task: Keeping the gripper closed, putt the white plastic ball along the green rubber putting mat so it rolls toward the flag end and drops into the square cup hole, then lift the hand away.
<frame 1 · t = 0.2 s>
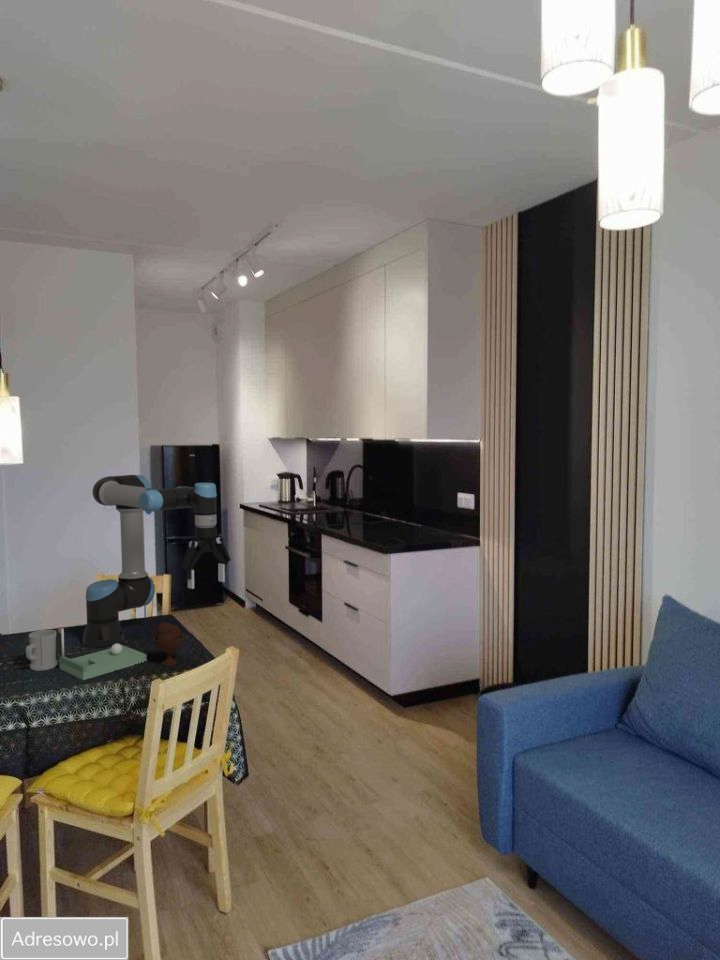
hand: (206, 584, 242), 28 cm above the table, fingers open, 13 cm apart
ball: (116, 649, 242), point 4 cm above the table, touching putting mat
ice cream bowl: (169, 663, 240), on the table
cup: (43, 668, 236), on the table
putting mat: (104, 665, 238), on the table
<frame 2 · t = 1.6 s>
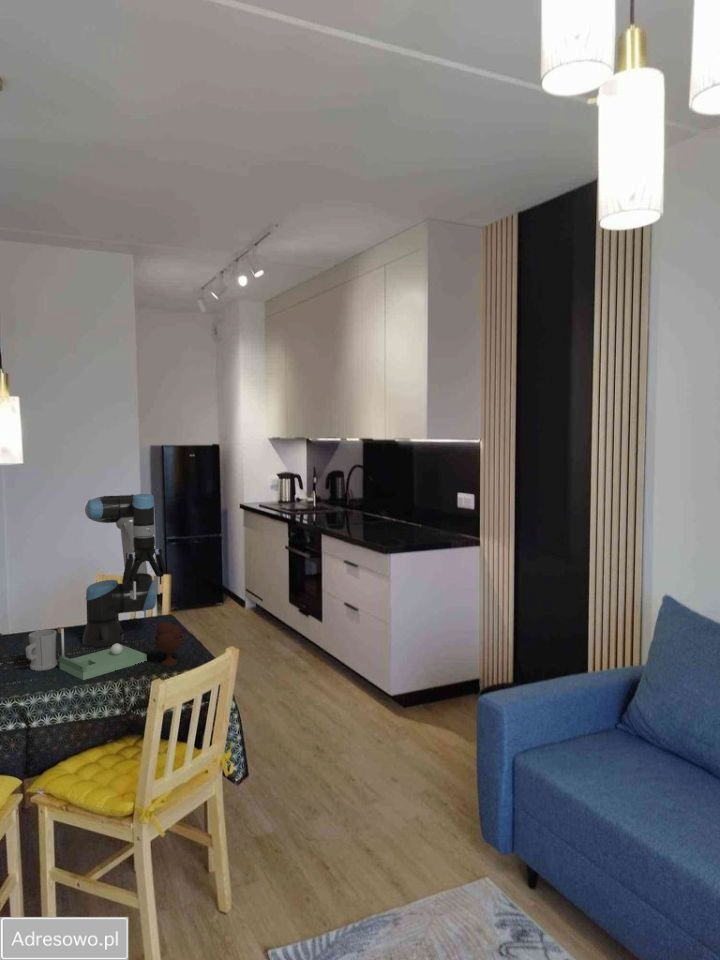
hand: (145, 596, 250), 22 cm above the table, fingers open, 9 cm apart
nothing on the table moved.
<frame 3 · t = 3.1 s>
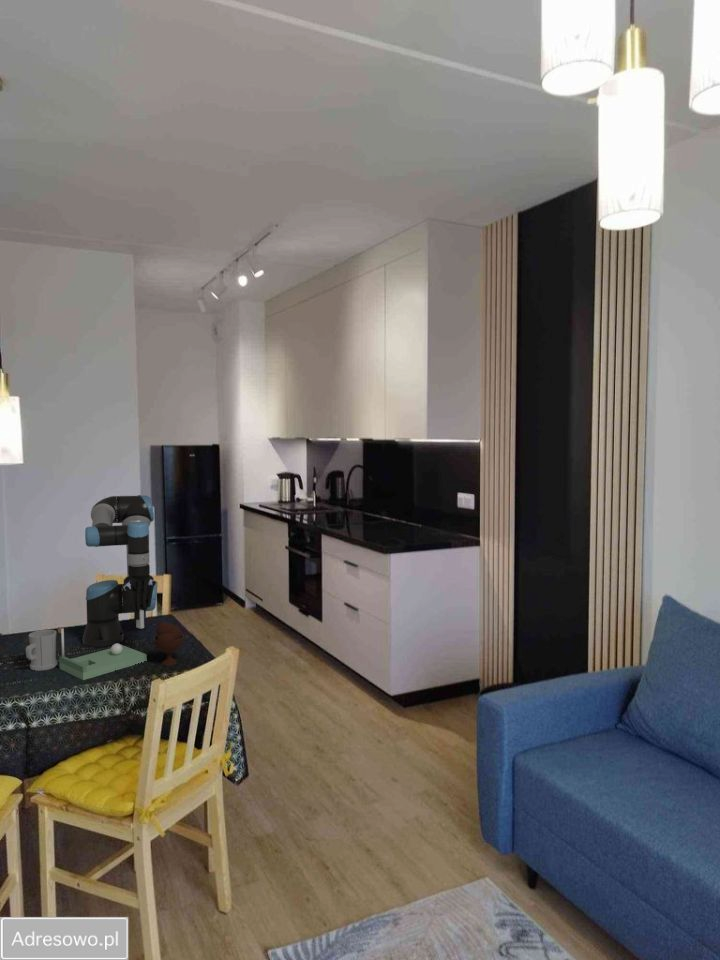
hand: (140, 627, 248), 10 cm above the table, fingers closed
nothing on the table moved.
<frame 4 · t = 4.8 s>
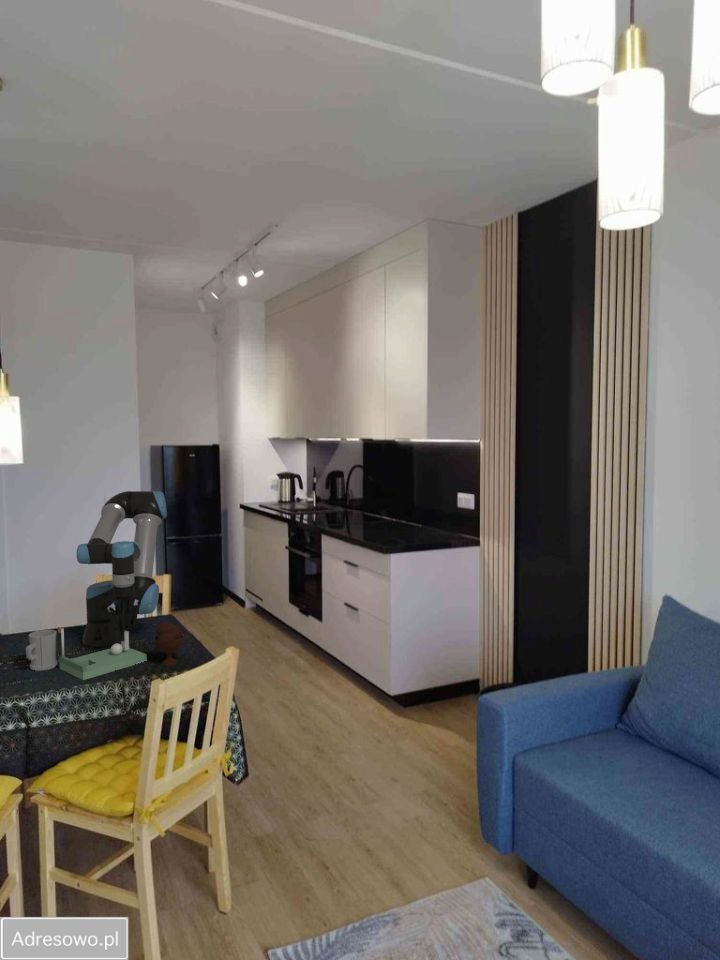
hand: (125, 648, 244), 4 cm above the table, fingers closed
nothing on the table moved.
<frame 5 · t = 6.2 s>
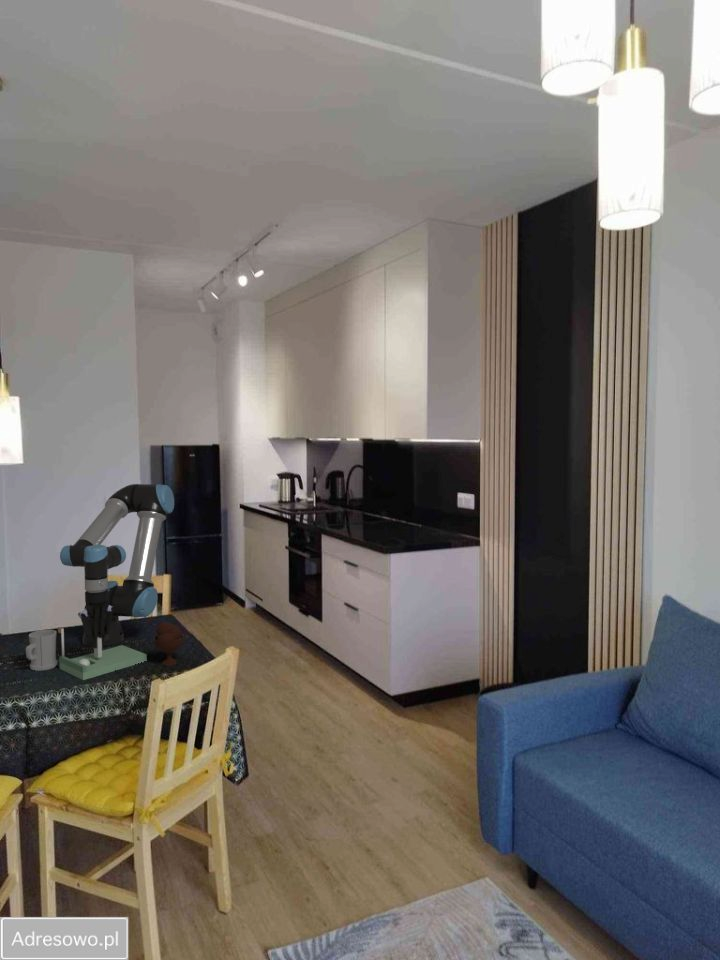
hand: (98, 656, 236), 4 cm above the table, fingers closed
ball: (83, 664, 232), point 2 cm above the table, tilted 15°, touching putting mat
everything else where it was.
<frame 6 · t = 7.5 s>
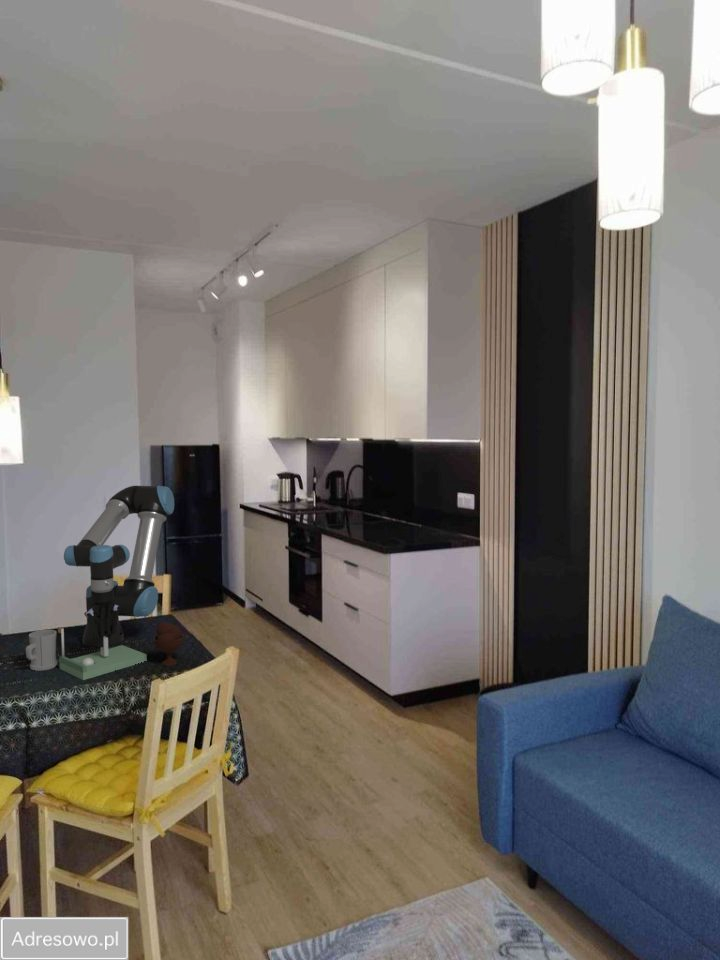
hand: (104, 655, 238), 3 cm above the table, fingers closed
ball: (87, 663, 233), point 2 cm above the table, tilted 23°, touching putting mat
everything else where it was.
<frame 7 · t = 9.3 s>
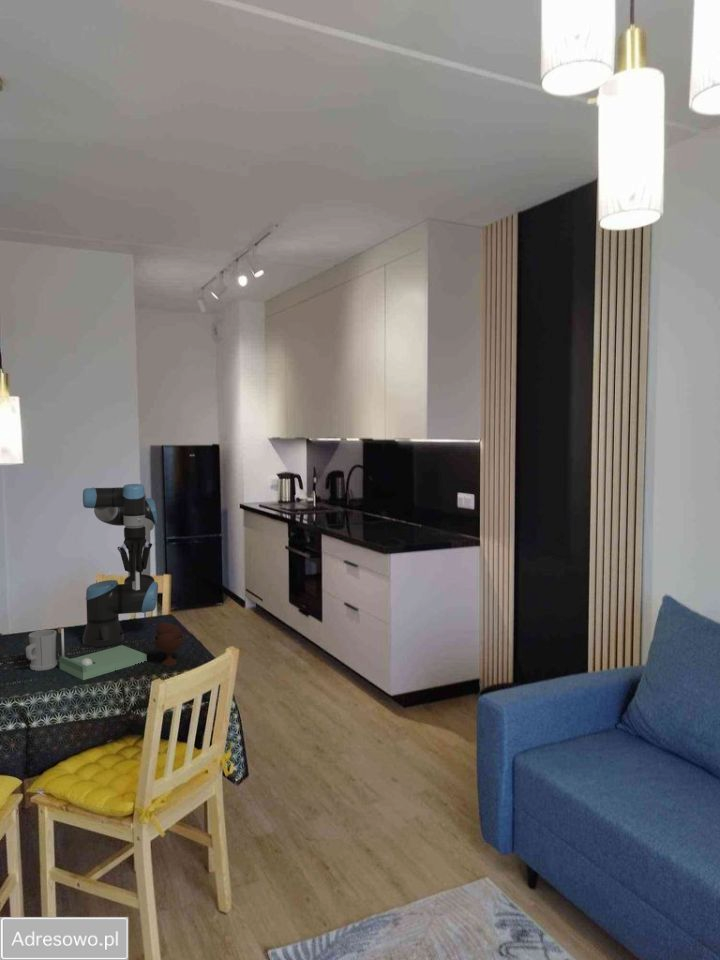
hand: (136, 589, 250), 24 cm above the table, fingers closed
ball: (86, 664, 233), point 2 cm above the table, tilted 11°, touching putting mat
everything else where it was.
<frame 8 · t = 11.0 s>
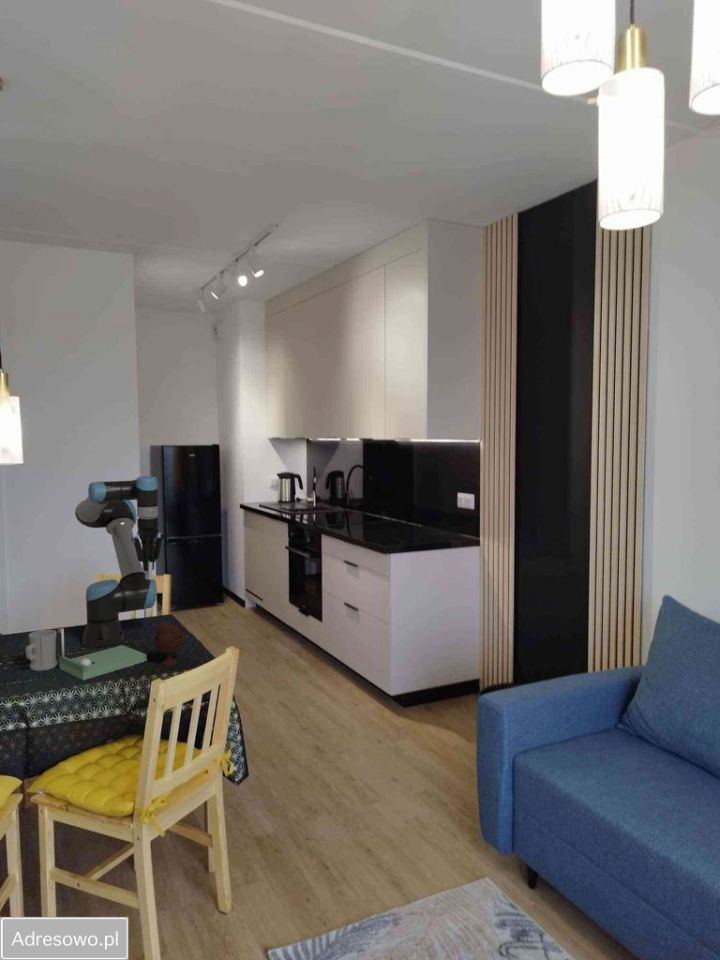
hand: (148, 578, 256), 26 cm above the table, fingers closed
ball: (85, 664, 232), point 2 cm above the table, touching putting mat
everything else where it was.
at the end: ball 0.5 cm from the target spot on the putting mat, point 2.3 cm above the putting mat's base; ball point 2.3 cm above the table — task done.
